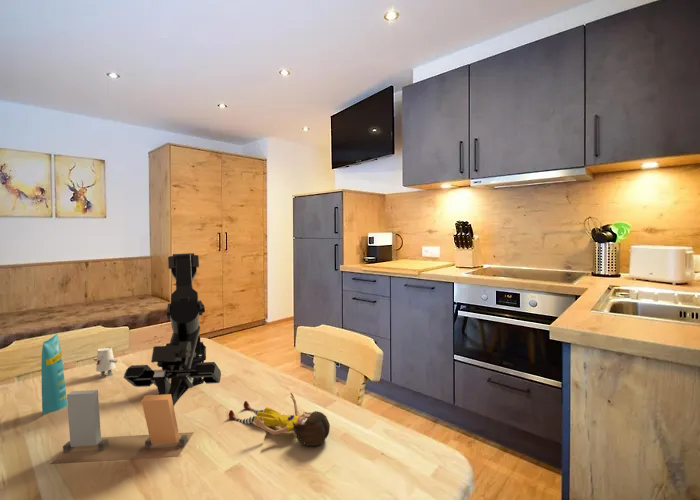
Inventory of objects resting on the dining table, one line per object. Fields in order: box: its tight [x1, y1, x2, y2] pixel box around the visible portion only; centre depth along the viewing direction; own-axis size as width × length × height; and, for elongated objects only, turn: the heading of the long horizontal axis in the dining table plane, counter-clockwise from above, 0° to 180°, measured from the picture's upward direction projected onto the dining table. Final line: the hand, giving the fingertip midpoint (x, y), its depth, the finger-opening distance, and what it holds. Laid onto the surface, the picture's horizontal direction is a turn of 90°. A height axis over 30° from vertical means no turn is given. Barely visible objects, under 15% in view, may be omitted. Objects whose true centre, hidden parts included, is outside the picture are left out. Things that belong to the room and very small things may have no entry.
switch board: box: [50, 431, 195, 465], centre depth 71 cm, size 8×24×2 cm, turn 94°
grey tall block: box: [66, 389, 102, 447], centre depth 70 cm, size 2×5×11 cm, turn 94°
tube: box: [41, 332, 68, 416], centre depth 87 cm, size 7×5×19 cm, turn 26°
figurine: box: [228, 392, 331, 448], centre depth 77 cm, size 13×8×25 cm
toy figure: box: [90, 346, 119, 378], centre depth 109 cm, size 12×6×8 cm, turn 75°
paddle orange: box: [141, 394, 180, 444], centre depth 69 cm, size 2×5×11 cm, turn 94°
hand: (163, 415), depth 70 cm, fingers closed, pressing on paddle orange
